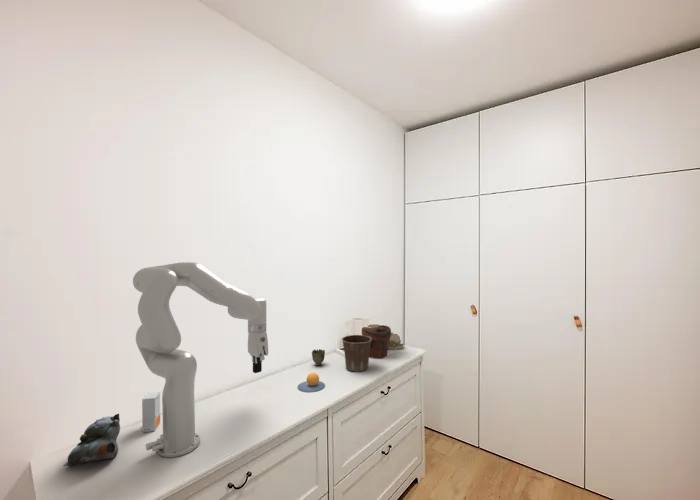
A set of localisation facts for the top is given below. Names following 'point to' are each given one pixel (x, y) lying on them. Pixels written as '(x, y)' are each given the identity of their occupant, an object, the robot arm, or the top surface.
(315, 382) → the ball
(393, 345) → the ceramic model
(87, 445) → the lucky cat figurine
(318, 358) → the cup
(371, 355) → the brown lidded basket
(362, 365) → the plant pot
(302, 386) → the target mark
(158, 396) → the skincare box
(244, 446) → the top surface
